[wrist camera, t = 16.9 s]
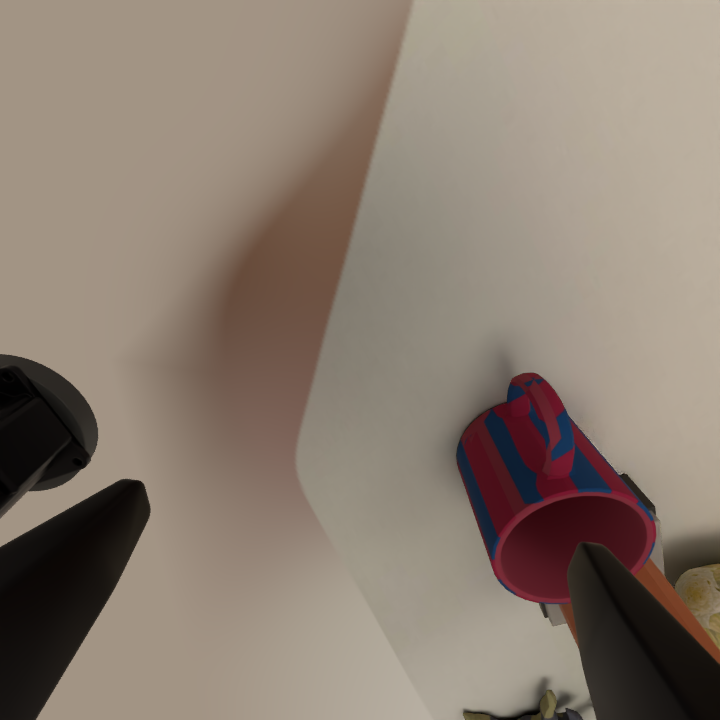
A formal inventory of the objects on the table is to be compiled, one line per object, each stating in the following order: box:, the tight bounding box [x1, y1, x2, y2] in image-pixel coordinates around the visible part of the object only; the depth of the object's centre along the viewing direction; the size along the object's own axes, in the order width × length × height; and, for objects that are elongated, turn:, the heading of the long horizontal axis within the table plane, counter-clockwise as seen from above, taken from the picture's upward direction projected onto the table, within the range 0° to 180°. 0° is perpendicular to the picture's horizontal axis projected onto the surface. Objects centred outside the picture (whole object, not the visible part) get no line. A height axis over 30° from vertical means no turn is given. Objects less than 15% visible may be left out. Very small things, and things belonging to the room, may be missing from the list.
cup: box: [457, 373, 657, 604], centre depth 20 cm, size 7×10×7 cm
